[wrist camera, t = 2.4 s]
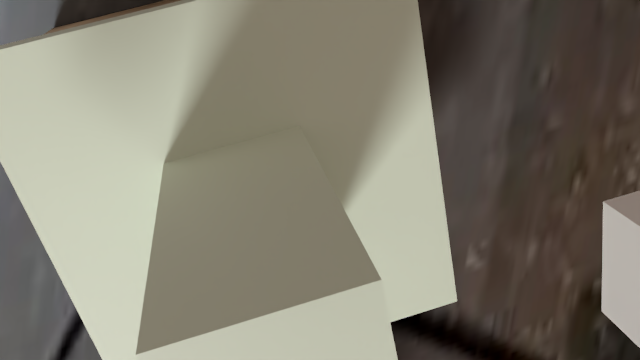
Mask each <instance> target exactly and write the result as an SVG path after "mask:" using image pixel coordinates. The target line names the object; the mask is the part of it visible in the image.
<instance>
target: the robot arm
mask: <svg viewBox="0 0 640 360" xmlns="http://www.w3.org/2000/svg"><path fill="white" fill-rule="evenodd" d="M602 312H603V313H604V314H605V315H606V316H607V317H608V318H609V319H610V320H611V321H612V322H613V323H614V324H615V325H616V326H617V327H619V328H620V329H621V330H622V331H623V332H624V333H625V334H626V335H627V336H628V337H629V338H630V339H631V340H632V341H633V342H634V343H635V344H636V345H637V346H638V347H639V348H640V191H637V192H634V193H630V194H627V195H624V196H620V197H617V198H614V199H610V200H607V201H603V246H602Z"/></svg>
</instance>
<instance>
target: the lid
mask: <svg viewBox="0 0 640 360" xmlns="http://www.w3.org/2000/svg"><path fill="white" fill-rule="evenodd" d="M0 162H1V164H2V166H3V167H4V169H5V171H6V173H7V175H8V177H9V179H10V181H11V183H12V185H13V187H14V189H15V191H16V193H17V195H18V197H19V199H20V201H21V202H22V204H23V206H24V208H25V210H26V212H27V214H28V216H29V218H30V220H31V222H32V224H33V226H34V228H35V230H36V232H37V234H38V236H39V237H40V239H41V241H42V243H43V245H44V247H45V249H46V251H47V253H48V255H49V257H50V259H51V261H52V263H53V265H54V267H55V269H56V270H57V272H58V274H59V276H60V278H61V280H62V282H63V284H64V286H65V288H66V290H67V292H68V294H69V296H70V298H71V300H72V302H73V304H74V305H75V307H76V309H77V311H78V313H79V315H80V317H81V319H82V321H83V323H84V325H85V327H86V329H87V331H88V333H89V335H90V337H91V338H92V340H93V342H94V344H95V346H96V348H97V350H98V352H99V354H100V356H101V358H102V360H398V358H397V353H396V348H395V343H394V338H393V333H392V328H391V323H390V322H393V321H396V320H399V319H402V318H406V317H409V316H412V315H415V314H418V313H421V312H425V311H428V310H431V309H434V308H437V307H441V306H444V305H447V304H450V303H453V302H457V296H456V289H455V281H454V273H453V266H452V258H451V251H450V243H449V235H448V228H447V220H446V212H445V205H444V197H443V190H442V182H441V174H440V167H439V159H438V152H437V144H436V136H435V129H434V121H433V113H432V106H431V98H430V91H429V83H428V75H427V68H426V60H425V53H424V45H423V37H422V30H421V22H420V14H419V7H418V0H181V1H177V2H173V3H169V4H165V5H161V6H157V7H153V8H149V9H145V10H140V11H136V12H132V13H128V14H124V15H120V16H116V17H112V18H108V19H104V20H100V21H96V22H92V23H88V24H84V25H80V26H76V27H72V28H68V29H64V30H60V31H56V32H52V33H48V34H44V35H40V36H36V37H32V38H28V39H24V40H20V41H16V42H12V43H8V44H4V45H0Z"/></svg>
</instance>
